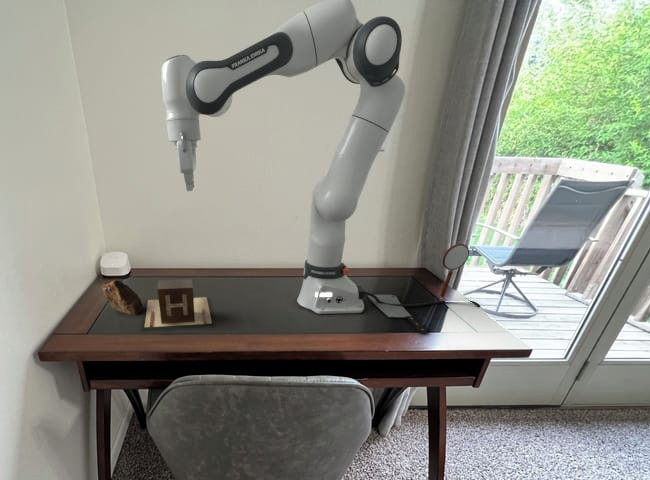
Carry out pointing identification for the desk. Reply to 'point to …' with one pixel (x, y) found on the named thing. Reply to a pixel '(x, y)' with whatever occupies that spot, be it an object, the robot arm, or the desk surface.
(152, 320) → the game board
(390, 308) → the cleaver
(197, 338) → the desk surface
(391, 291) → the desk surface
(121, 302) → the decorative rock
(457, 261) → the magnifying glass
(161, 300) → the tall rectangular block
